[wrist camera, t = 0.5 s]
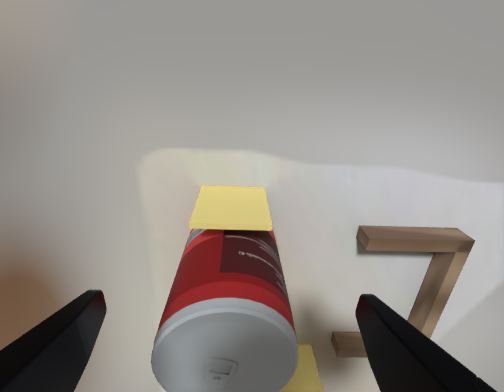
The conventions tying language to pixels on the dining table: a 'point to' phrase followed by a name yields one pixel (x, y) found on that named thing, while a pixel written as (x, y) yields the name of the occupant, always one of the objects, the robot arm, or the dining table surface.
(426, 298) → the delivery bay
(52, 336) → the robot arm
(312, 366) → the ochre block
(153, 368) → the canned food
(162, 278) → the dining table surface
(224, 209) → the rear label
